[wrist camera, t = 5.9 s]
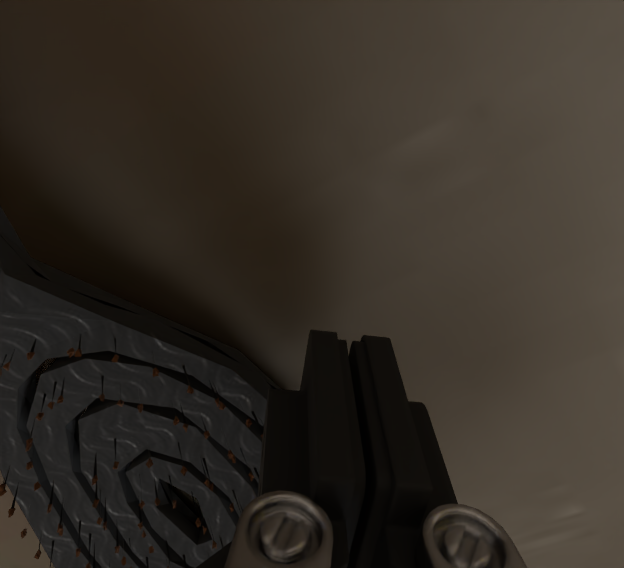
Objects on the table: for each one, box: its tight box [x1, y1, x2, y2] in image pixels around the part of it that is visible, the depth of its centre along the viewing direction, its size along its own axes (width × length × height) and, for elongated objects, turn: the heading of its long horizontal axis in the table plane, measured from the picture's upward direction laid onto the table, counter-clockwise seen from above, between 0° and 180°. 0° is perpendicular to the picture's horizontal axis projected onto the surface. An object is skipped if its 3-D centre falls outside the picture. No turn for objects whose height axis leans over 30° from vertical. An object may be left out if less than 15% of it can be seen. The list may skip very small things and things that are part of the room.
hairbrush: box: [0, 206, 282, 568], centre depth 11 cm, size 8×4×25 cm
